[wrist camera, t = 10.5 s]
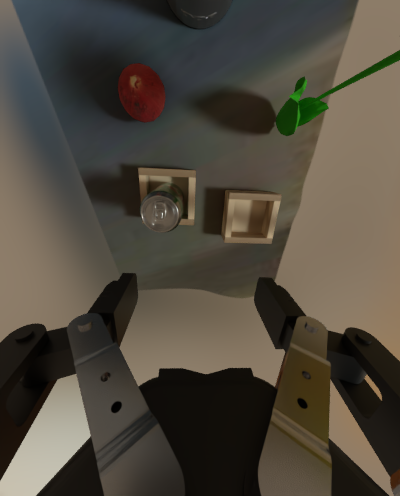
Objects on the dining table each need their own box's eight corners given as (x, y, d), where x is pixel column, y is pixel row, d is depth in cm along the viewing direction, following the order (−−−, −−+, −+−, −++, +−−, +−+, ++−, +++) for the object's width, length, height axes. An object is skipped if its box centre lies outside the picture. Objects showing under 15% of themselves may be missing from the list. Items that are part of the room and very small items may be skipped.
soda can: (155, 211, 33) (138, 234, 22) (154, 181, 31) (135, 190, 20) (183, 213, 34) (181, 236, 23) (184, 183, 32) (182, 193, 21)
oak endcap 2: (225, 189, 33) (229, 192, 30) (272, 191, 34) (281, 194, 30) (221, 235, 36) (224, 242, 33) (263, 236, 37) (271, 243, 34)
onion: (163, 132, 29) (154, 120, 22) (125, 119, 28) (103, 103, 21) (171, 87, 27) (165, 57, 20) (131, 72, 26) (108, 35, 19)
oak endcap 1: (144, 167, 31) (138, 167, 28) (195, 170, 32) (195, 170, 28) (147, 217, 34) (142, 223, 31) (193, 219, 35) (193, 225, 31)
